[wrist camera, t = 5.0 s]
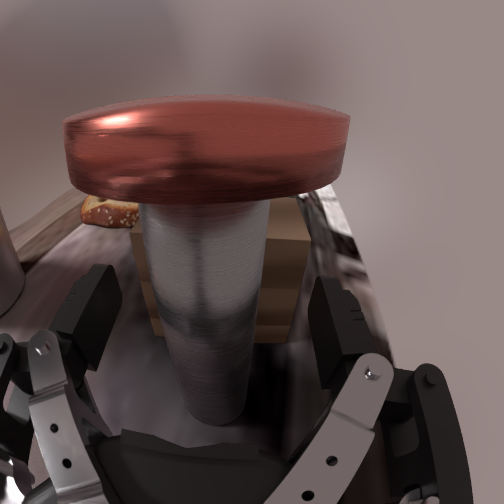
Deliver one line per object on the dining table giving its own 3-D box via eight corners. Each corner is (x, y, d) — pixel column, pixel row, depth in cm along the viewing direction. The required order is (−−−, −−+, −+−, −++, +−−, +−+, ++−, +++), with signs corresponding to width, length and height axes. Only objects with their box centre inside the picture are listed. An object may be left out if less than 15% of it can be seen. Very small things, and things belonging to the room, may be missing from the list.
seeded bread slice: (239, 188, 40) (240, 165, 38) (178, 252, 26) (175, 218, 24) (144, 175, 44) (143, 155, 42) (69, 221, 30) (62, 196, 28)
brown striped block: (285, 343, 18) (311, 240, 13) (155, 336, 17) (129, 232, 13) (279, 293, 22) (295, 198, 17) (168, 287, 21) (156, 192, 17)
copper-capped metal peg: (274, 450, 11) (414, 143, 3) (153, 442, 11) (-3, 146, 3) (263, 281, 22) (284, 94, 14) (186, 277, 22) (178, 91, 14)
